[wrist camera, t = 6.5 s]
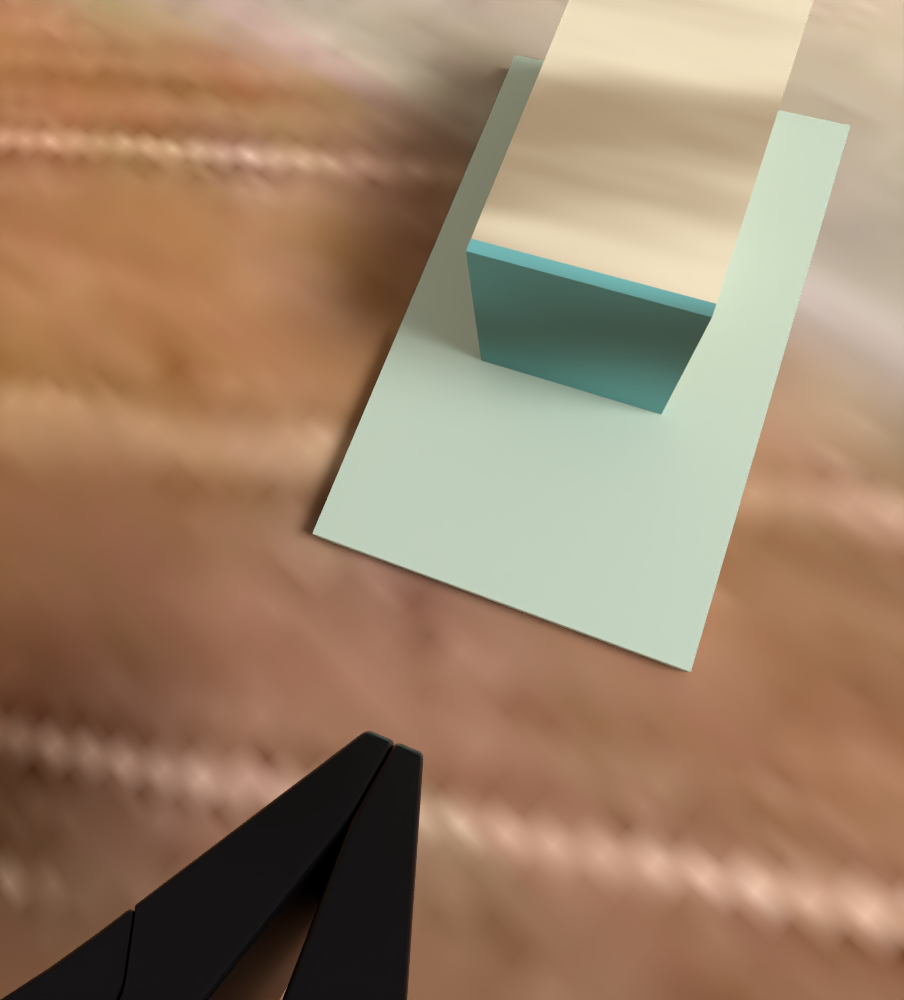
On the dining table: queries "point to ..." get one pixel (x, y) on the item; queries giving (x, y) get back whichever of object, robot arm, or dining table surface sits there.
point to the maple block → (628, 190)
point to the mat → (580, 428)
